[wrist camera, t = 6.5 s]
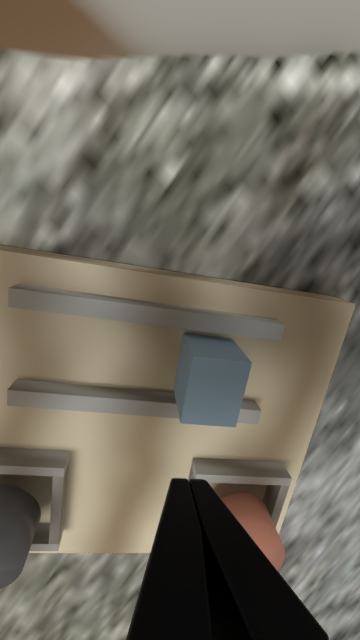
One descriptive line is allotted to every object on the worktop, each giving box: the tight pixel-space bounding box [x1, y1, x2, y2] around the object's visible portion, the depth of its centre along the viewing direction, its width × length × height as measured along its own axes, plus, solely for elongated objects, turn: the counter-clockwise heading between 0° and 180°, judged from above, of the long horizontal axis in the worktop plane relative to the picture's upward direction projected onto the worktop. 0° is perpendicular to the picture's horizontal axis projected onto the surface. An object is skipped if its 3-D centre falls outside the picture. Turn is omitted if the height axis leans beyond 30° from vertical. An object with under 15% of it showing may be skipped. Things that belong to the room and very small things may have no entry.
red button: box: [221, 493, 285, 571], centre depth 15 cm, size 4×4×2 cm
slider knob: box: [174, 333, 252, 427], centre depth 13 cm, size 2×3×3 cm
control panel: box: [0, 245, 356, 553], centre depth 16 cm, size 20×17×3 cm
